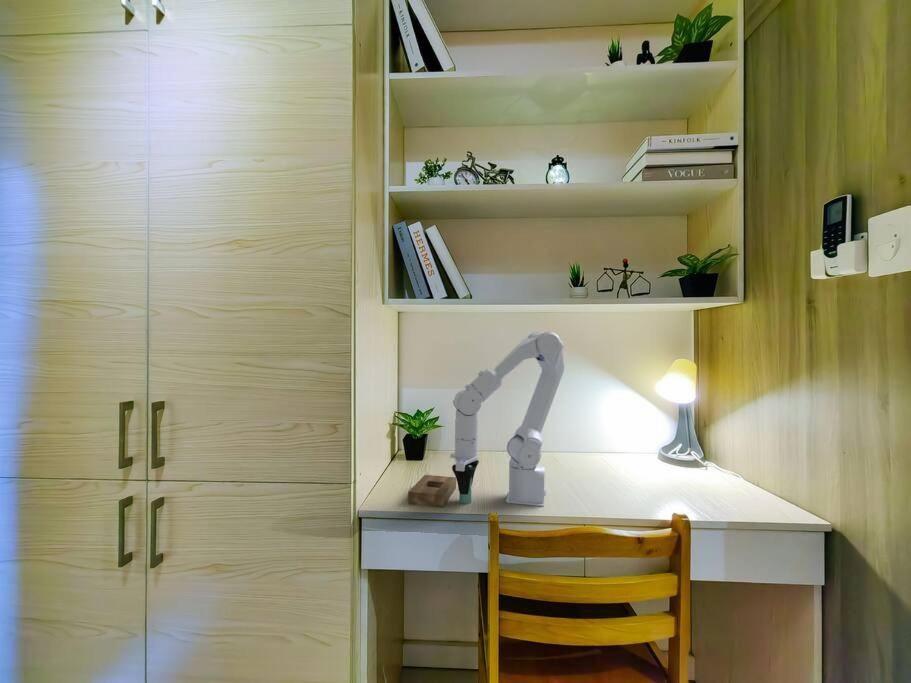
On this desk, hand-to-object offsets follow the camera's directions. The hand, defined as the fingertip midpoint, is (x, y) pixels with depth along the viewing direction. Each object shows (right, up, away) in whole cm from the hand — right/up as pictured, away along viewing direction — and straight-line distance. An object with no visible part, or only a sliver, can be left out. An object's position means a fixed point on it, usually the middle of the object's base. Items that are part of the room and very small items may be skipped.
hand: (465, 491), depth 107 cm
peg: (0, -3, 0) cm, 3 cm away
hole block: (-8, -3, +4) cm, 10 cm away
